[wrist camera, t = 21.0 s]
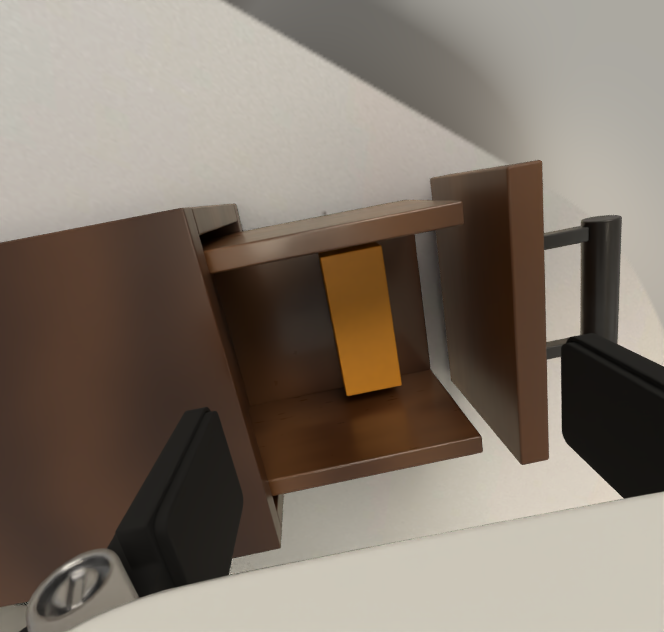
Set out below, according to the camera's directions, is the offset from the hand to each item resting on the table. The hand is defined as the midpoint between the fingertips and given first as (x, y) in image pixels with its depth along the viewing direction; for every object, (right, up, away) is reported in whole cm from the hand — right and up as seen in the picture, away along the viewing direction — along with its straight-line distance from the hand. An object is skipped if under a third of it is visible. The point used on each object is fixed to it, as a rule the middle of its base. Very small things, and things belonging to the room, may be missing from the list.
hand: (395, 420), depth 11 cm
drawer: (+1, +4, +11) cm, 12 cm away
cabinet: (-13, +1, +12) cm, 18 cm away
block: (0, +3, +10) cm, 11 cm away
